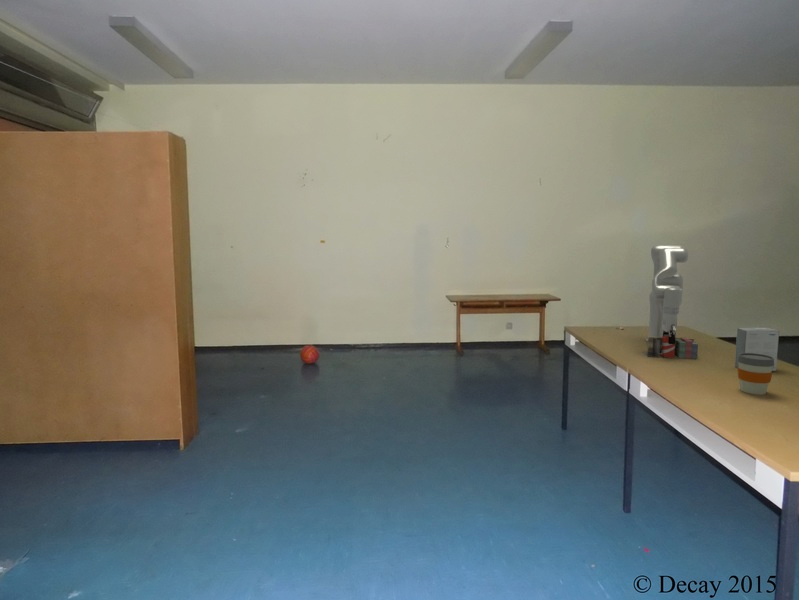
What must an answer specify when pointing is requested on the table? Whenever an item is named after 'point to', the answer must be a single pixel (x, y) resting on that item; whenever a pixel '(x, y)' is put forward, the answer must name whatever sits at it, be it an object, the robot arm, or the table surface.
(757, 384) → the reusable coffee cup
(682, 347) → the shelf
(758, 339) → the hard drive box
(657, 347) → the bookend
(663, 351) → the beverage can
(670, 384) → the table surface
